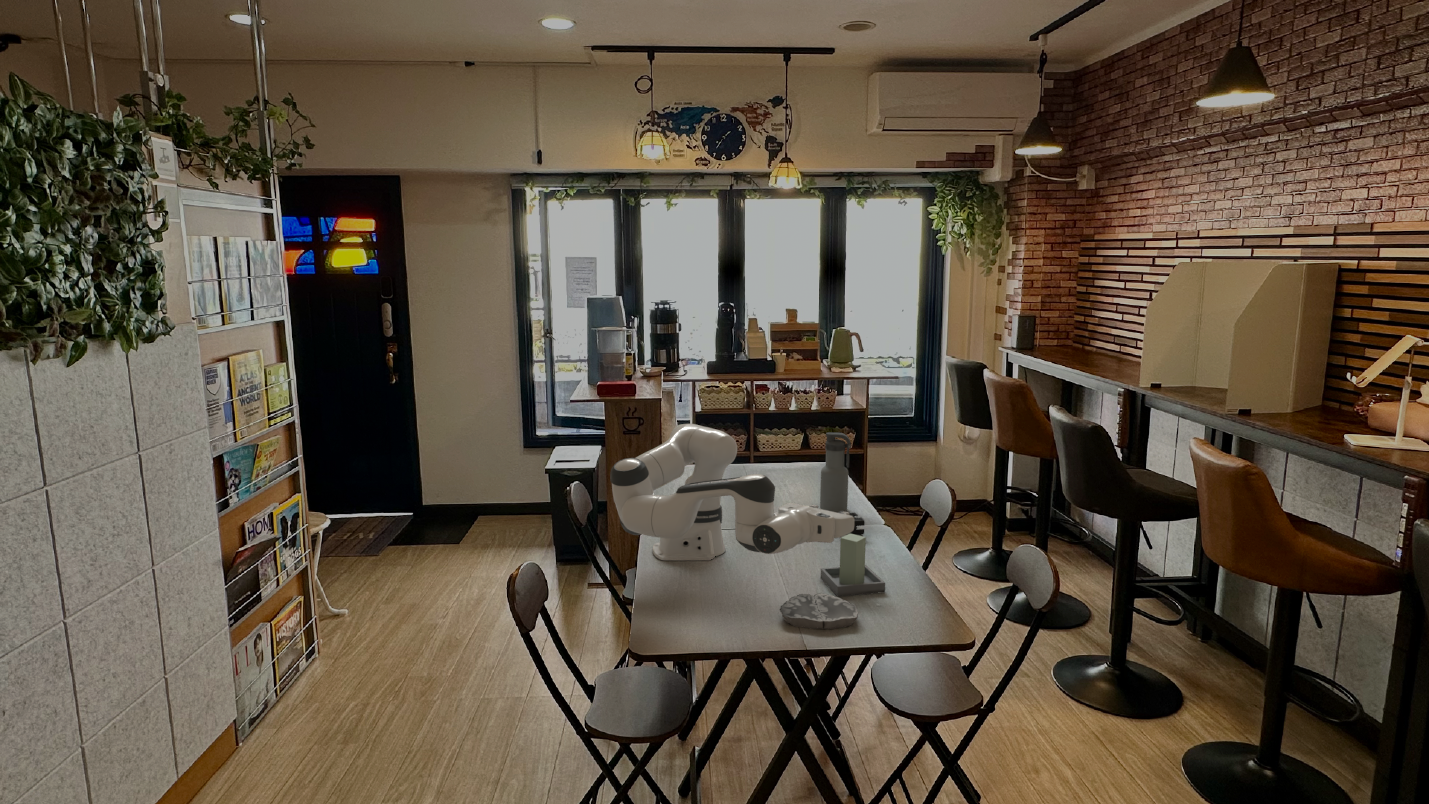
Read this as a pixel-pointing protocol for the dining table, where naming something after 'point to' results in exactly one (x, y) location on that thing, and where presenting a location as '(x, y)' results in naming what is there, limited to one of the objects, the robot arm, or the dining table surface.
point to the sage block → (852, 559)
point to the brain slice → (819, 611)
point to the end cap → (857, 524)
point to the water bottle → (835, 474)
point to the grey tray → (867, 587)
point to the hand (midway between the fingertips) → (831, 511)
